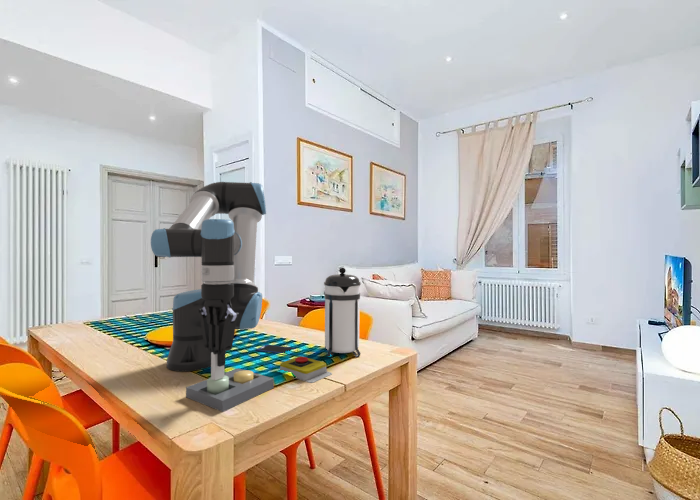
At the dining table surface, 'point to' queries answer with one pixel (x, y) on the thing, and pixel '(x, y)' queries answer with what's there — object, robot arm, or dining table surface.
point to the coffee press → (342, 313)
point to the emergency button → (306, 369)
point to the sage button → (217, 385)
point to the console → (230, 391)
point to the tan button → (243, 376)
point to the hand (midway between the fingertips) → (217, 378)
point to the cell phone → (274, 349)
